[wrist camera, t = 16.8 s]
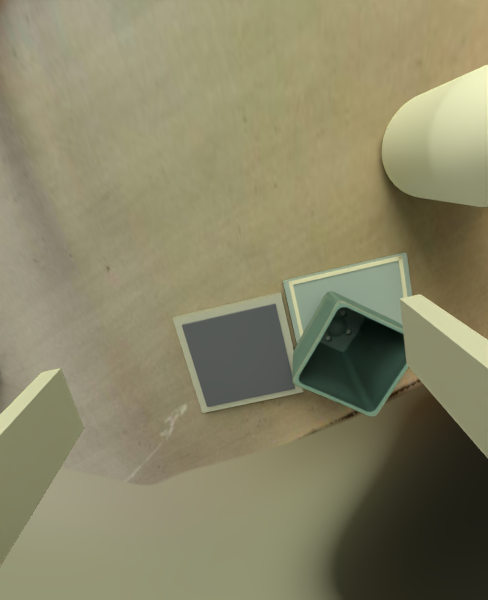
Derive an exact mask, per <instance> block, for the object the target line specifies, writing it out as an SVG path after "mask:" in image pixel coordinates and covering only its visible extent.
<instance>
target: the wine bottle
mask: <svg viewBox="0 0 488 600" xmlns="http://www.w3.org/2000/svg"><path fill="white" fill-rule="evenodd" d="M382 161H383V165H384V168H385V171H386V173H387V175H388V177H389V179H390V180H391V181H392V182H393V184H394V185H395V186H396V187H397V188H399V189H400V190H401V191H403V192H404V193H406V194H408V195H411V196H414V197H419V198H425V199H431V200H438V201H444V202H451V203H457V204H463V205H470V206H477V207H488V65H485V66H483V67H481V68H479V69H476V70H474V71H472V72H470V73H467V74H465V75H463V76H461V77H458V78H456V79H454V80H452V81H450V82H447V83H445V84H443V85H441V86H438V87H436V88H434V89H432V90H429V91H427V92H425V93H423V94H420V95H418V96H416V97H414V98H413V99H411V100H410V101H408V102H407V103H405V104H404V105H403V106H402V107H401V108H400V109H399V110H398V111H397V113H396V114H395V115H394V116H393V118H392V119H391V121H390V123H389V125H388V126H387V129H386V132H385V134H384V138H383V142H382Z"/></svg>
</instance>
